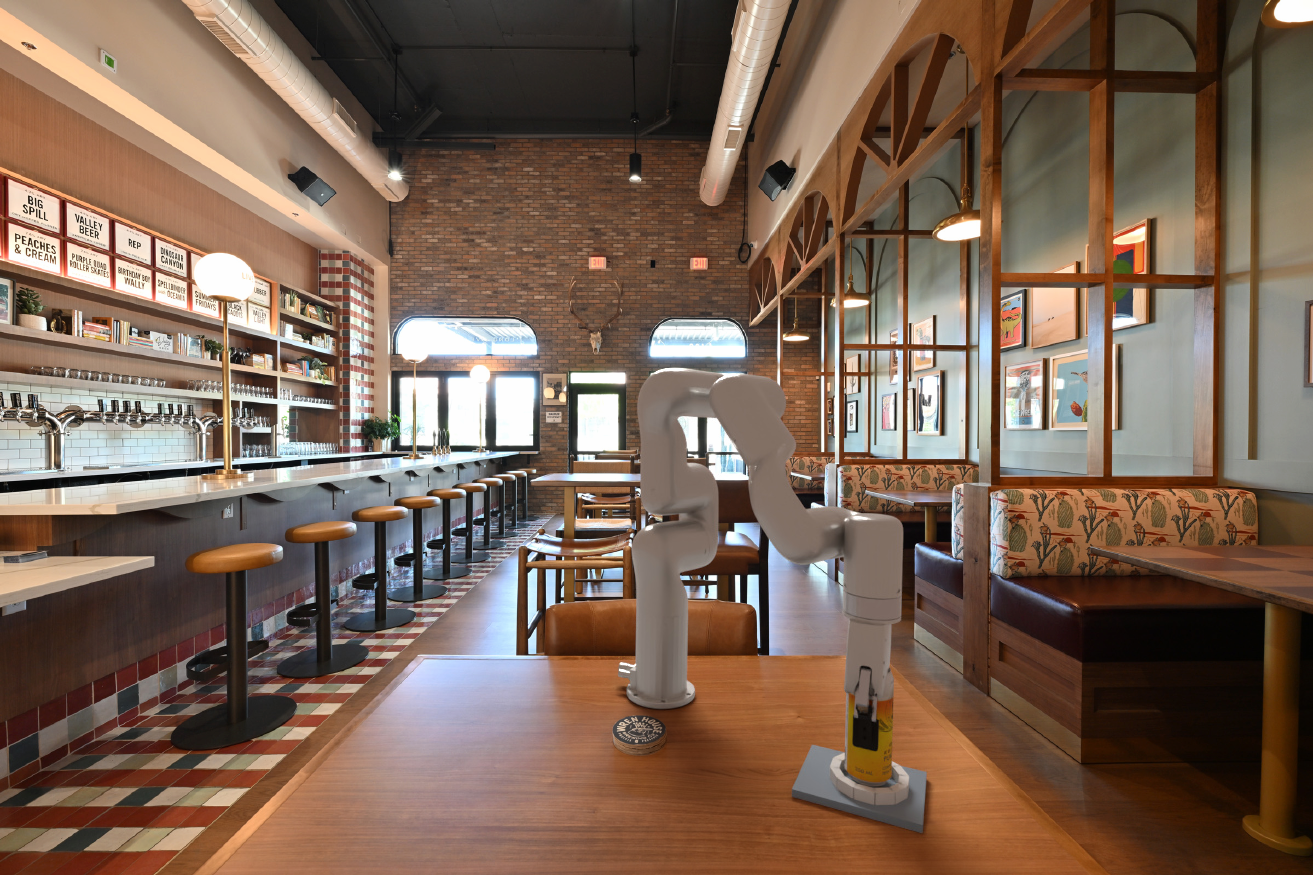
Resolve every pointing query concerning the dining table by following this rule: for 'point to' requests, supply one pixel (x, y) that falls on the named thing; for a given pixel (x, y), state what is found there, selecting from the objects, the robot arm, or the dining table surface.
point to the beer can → (878, 764)
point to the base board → (862, 790)
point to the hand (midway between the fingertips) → (868, 735)
